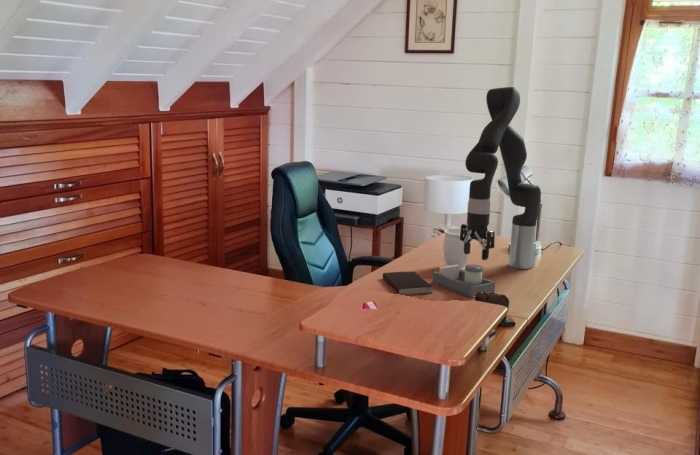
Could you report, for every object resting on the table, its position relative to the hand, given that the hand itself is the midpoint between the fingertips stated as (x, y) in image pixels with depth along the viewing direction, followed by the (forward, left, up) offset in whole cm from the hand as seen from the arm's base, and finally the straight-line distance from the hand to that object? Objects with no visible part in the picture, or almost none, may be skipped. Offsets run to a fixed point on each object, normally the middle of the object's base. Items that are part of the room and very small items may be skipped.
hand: (475, 256), depth 235 cm
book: (+16, -17, -14) cm, 27 cm away
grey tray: (0, -5, -13) cm, 14 cm away
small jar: (0, 0, -12) cm, 12 cm away
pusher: (0, -12, -12) cm, 17 cm away
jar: (-15, -25, -13) cm, 32 cm away
